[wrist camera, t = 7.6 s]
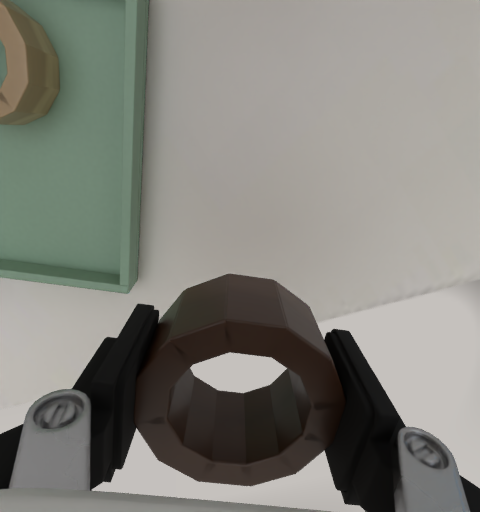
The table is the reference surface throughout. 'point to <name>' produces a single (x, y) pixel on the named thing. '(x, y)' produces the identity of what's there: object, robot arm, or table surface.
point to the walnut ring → (231, 403)
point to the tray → (79, 152)
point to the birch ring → (26, 67)
